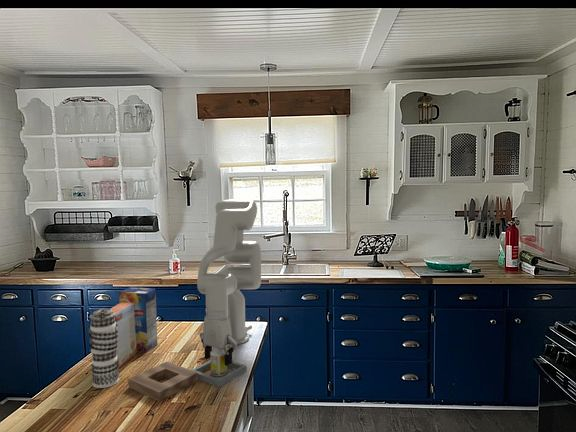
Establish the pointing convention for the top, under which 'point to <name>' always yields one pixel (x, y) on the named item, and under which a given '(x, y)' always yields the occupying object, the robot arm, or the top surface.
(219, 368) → the supplement bottle
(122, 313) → the cracker box
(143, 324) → the blue cardboard box
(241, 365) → the square frame
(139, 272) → the top surface
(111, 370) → the decorative candle
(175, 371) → the socket block
